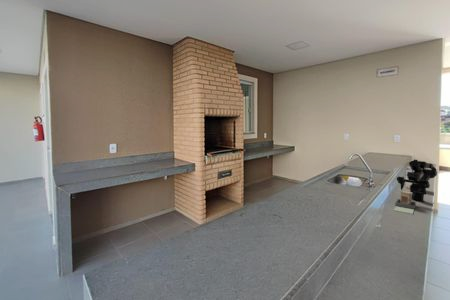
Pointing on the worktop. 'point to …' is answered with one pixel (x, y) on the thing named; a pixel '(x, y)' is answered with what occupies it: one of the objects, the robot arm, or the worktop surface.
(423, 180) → the robot arm
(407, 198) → the birch box
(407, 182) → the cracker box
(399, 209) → the sage mat
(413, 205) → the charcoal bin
